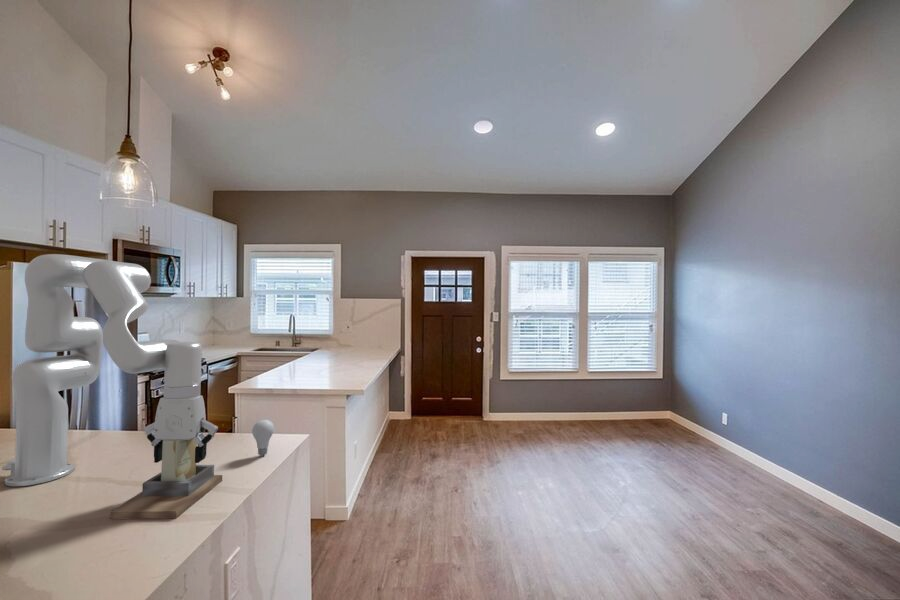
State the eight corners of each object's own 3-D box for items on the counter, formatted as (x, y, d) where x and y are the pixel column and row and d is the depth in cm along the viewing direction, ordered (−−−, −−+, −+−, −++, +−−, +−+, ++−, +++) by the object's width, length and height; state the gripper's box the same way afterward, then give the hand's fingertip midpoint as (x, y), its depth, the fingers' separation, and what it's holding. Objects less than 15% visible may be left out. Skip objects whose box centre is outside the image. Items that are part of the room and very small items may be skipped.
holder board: (109, 518, 82) (110, 497, 83) (167, 480, 100) (168, 463, 101) (176, 518, 83) (176, 497, 83) (222, 480, 101) (222, 463, 101)
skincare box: (175, 492, 91) (177, 441, 92) (159, 491, 92) (161, 440, 92) (196, 480, 98) (198, 432, 98) (181, 479, 98) (182, 431, 98)
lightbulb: (258, 461, 114) (259, 424, 114) (247, 456, 117) (248, 420, 117) (277, 454, 119) (278, 419, 119) (266, 450, 122) (266, 416, 123)
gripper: (135, 394, 91) (132, 466, 91) (209, 395, 92) (206, 467, 92) (157, 388, 99) (155, 454, 98) (226, 388, 99) (223, 455, 99)
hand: (180, 460), depth 95 cm, fingers open, 9 cm apart
